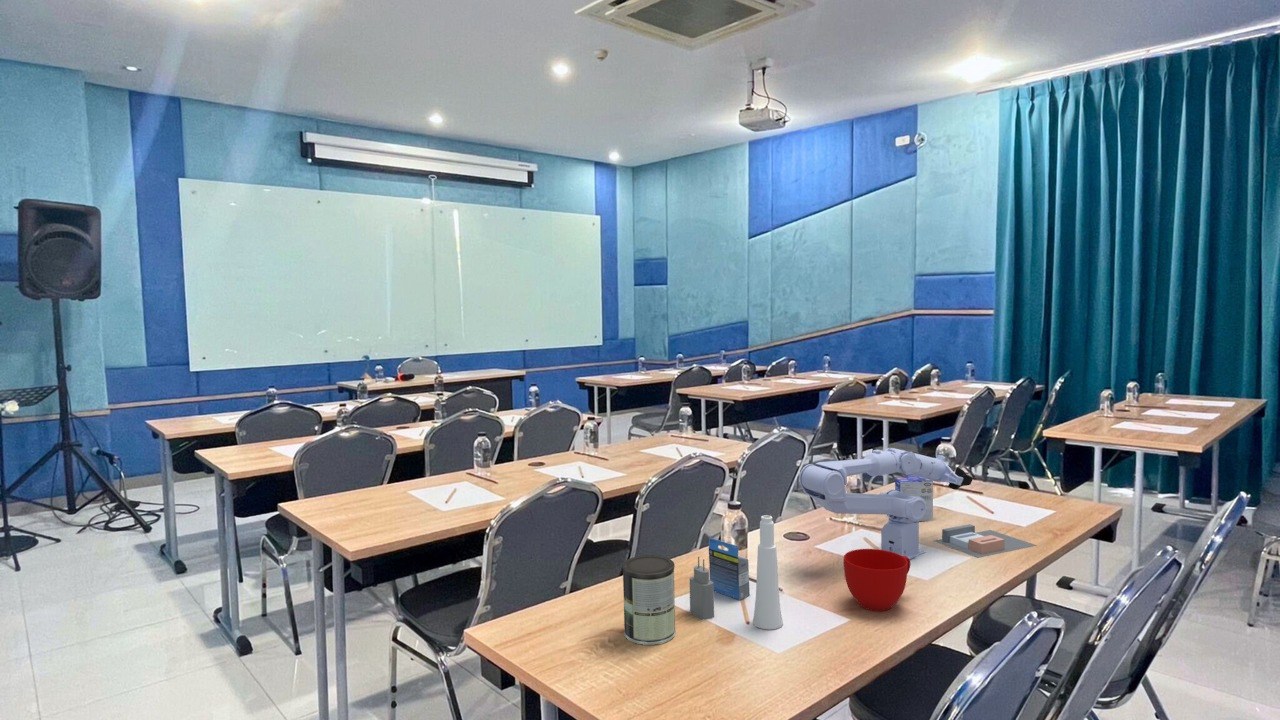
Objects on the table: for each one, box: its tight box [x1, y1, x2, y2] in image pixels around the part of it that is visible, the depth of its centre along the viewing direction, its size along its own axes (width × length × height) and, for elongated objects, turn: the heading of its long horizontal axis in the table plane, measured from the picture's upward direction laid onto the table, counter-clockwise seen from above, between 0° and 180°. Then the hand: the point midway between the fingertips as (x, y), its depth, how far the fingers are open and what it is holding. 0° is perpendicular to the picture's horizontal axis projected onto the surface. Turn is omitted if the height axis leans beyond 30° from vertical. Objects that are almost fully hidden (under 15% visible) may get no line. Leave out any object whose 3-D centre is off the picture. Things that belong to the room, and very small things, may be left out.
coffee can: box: [621, 554, 676, 646], centre depth 138 cm, size 10×10×14 cm
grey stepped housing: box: [941, 524, 984, 549], centre depth 186 cm, size 10×8×3 cm
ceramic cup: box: [843, 548, 911, 612], centre depth 151 cm, size 13×17×10 cm
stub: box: [969, 535, 1005, 554], centre depth 181 cm, size 8×4×3 cm, turn 113°
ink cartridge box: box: [894, 475, 934, 522], centre depth 208 cm, size 10×6×14 cm, turn 89°
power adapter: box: [689, 556, 715, 621], centre depth 147 cm, size 3×5×12 cm, turn 30°
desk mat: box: [933, 529, 1038, 559], centre depth 186 cm, size 21×14×1 cm
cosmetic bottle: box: [752, 514, 784, 630], centre depth 141 cm, size 6×6×22 cm
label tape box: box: [708, 536, 751, 601], centre depth 157 cm, size 9×4×12 cm, turn 43°
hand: (959, 475), depth 188 cm, fingers open, 7 cm apart
